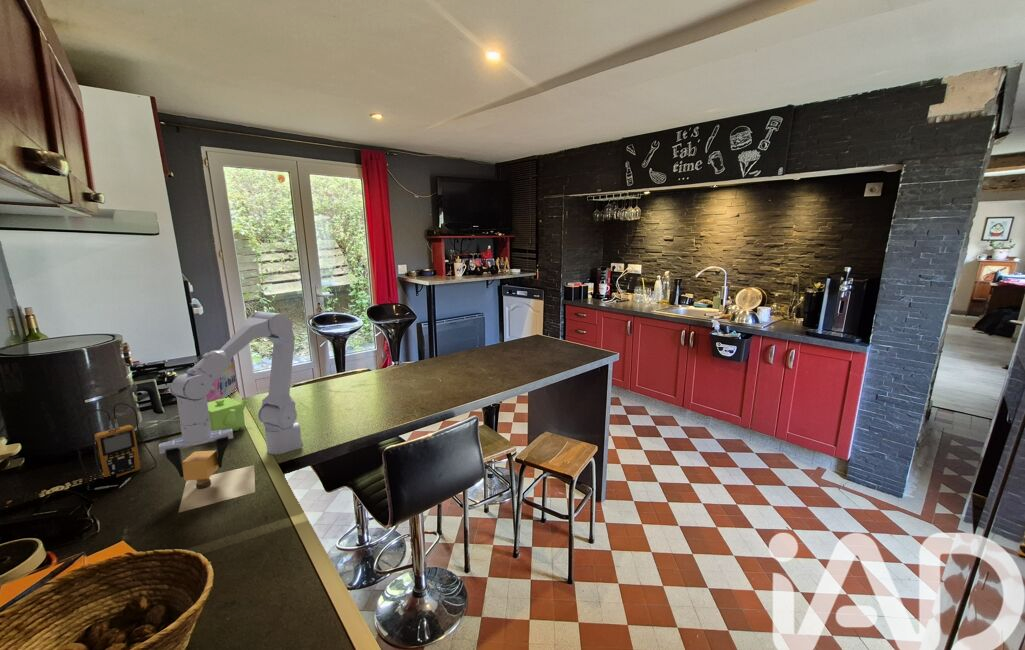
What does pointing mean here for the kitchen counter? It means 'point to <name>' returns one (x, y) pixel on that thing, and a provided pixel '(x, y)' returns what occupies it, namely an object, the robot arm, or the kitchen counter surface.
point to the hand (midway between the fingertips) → (201, 470)
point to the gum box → (223, 384)
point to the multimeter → (116, 450)
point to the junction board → (218, 488)
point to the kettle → (226, 414)
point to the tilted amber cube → (200, 465)
